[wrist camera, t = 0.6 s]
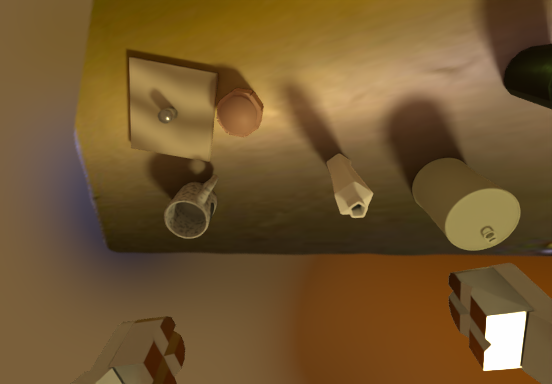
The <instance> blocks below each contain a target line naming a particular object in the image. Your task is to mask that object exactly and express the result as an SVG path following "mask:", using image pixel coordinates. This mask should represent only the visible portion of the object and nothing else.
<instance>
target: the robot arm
mask: <svg viewBox="0 0 552 384" xmlns="http://www.w3.org/2000/svg"><path fill="white" fill-rule="evenodd" d="M448 284H449V286H450V287H451V289H452V290H453V292H452V293H451V295H450V296H449V308H450V312H451V316H452V318H453V321H454V323H455V325H456V326H457V328H458V330H459V332H460V333H462V334H464V335H465V336H467V337H469V348H470V349H471V351H472V353H473V354H474V356H475V357H476V359H477V361H478V362H479V364H480V365H481V367H482V369H483V370H484V371H486V370H497V369H507V368H508V369H509V368H520V367H522V368H521V369H522V370H523V371H525V372H526V373H528V374H529V375H530V376H532V377H533V378H534V379H536V380H537V381H539V382H540V383H542V384H552V299H551V298H550V297H549V296H548V295H546V294H545V293H544V292H543V291H542V290H541V289H540V288H539V287H538V286H537V285H536V284H535V283H533V282H532V281H531V280H530V279H529V278H528V277H527V276H526V275H525V274H524V273H523V272H522V271H520V270H519V269H518V268H517V267H516V266H515V265H513V264H511V263H507V264H500V265H495V266H489V267H484V268H478V269H471V270H465V271H459V272H453V273H450V275H449V283H448ZM175 326H176V324H175V322H174V321H173V319H172V317H168V316H165V317H158V318H149V319H141V320H137V321H128V322H123V323H121V324H120V325H118V327H117V328H116V330H115V331H114V333H113V335H112V336H111V338H110V339H109V341H108V343H107V344H106V346H105V347H104V349H103V351H102V352H101V354H100V356H99V357H98V359H97V360H96V362H95V364H94V365H93V367H92V368H91V370H90V371H87V372H84V373H83V374H82V375H80V376H79V377H78V378H77V379H76V380H74V381H73V382H72V383H71V384H177V383H176V380H175V377H174V376H175V375H176V374H177V373H178V372H179V371H180V370H181V369H182V366H183V363H184V360H185V345H184V341H183V339H182V337H181V335H180V334H178V333H176V332H175V331H174V328H175Z"/></svg>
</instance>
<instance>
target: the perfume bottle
mask: <svg viewBox="0 0 552 384" xmlns="http://www.w3.org/2000/svg"><path fill="white" fill-rule="evenodd" d="M326 164H327V167H328V170H329V173H330V175H331V177H332V183H333V189H334V194H335V198H336V201H337V204H338V207H339V210H340V213H341V214H350V215H351V217H352V218H360V217H364V216H365V214H366V212H367V209H368V205H369V203H370V200H371V198H372V196H373V193H372V191H371V190H370V189H369V188H368V186H367V185H366V184H365V183H364V181H363V180H362V179H361V178H360V177H359V175H358V174H357V173H356V172H355V170H354V169H353V168H352V167H351V160H349V159H348V158H346V157H345V156H343V155H342V154H340V153H338V154H337V155H335V156H334V157H332V158H331V159H330V160H328V161H327V162H326Z"/></svg>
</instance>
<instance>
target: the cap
mask: <svg viewBox="0 0 552 384" xmlns="http://www.w3.org/2000/svg"><path fill="white" fill-rule="evenodd" d="M252 92H253V91H252V90H247V89H241V88H237V89H236V88H235V89H234V90H233V91H231V92H230V93H229V94H227V95H226V96H225V97H224V98H222V99H221V100H220V101H219V102H218V109H217V119H218V120H217V121H218V122H219V124H220V125H221V126H222V128H223V129H224V130H225V132H226V133H228V132H229V135H234V136H240V137H244V136H248V135H249V134H251V133H252V132H254V131H255V130H256V129H258V128H259V126H260V123H261V120H262V114H263V107H264V106H263V103H262V102H261V101H260V99H259V98H258V96H257V95H256V93H255V92H253V93H252Z"/></svg>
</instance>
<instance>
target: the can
mask: <svg viewBox="0 0 552 384" xmlns="http://www.w3.org/2000/svg"><path fill="white" fill-rule="evenodd" d="M412 194H413V197H414V199H415V201H416V202H417V204H418V205H420V206H421V207H422V208H423V209H424V210H425V211H426V212H427V213H428V215H429V216H430V217H431V218H432V219H433V220H434V222H435V223H436V224H437V225H438V226H439V228H440V229H441V230H442V231H443V232H444V234H445V235H446V236H447V238H448V239H449V241H450V242H451V243H452V244H454V245H455V246H457V247H459V248H462V249H466V250H482V249H486V248H489V247H492V246H494V245H496V244H498V243H500V242H501V241H503V240H504V239H506V238H507V237H508V236H509V235H510V234H511V233H512V232H513V230H514V229H515V227H516V226H517V224H518V221H519V218H520V206H519V203H518V201H517V199H516V198H515V196H514V195H512V194H511V193H510V192H508V191H506V190H504V189H502V188H500V187H499V186H497V185H496V184H494V183H492V182H491V181H489V180H488V179H486V178H485V177H483V176H481V175H480V174H478V173H477V172H475V171H474V170H472V169H471V168H469V167H468V166H467V165H466V164H465V163H464V162H462V161H460V160H458V159H455V158H441V159H437V160H434V161H432V162H430V163H428V164H427V165H425V166H424V167H423V168H422V169H421V170H420V171H419V172H418V174H417V175H416V177H415V179H414V181H413V185H412Z"/></svg>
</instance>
